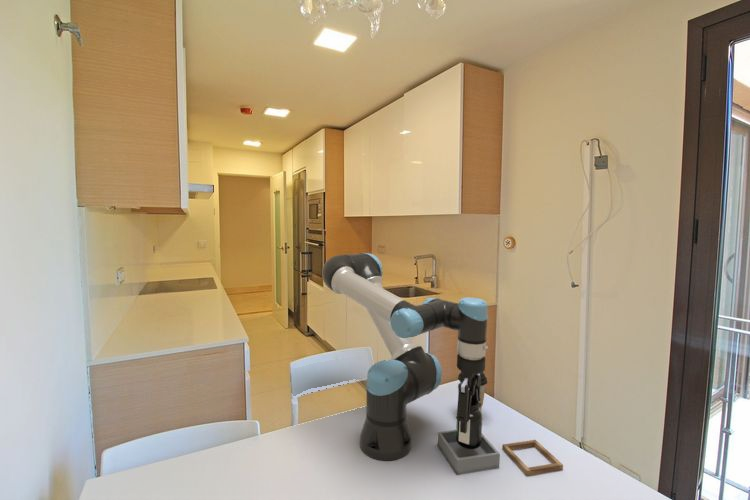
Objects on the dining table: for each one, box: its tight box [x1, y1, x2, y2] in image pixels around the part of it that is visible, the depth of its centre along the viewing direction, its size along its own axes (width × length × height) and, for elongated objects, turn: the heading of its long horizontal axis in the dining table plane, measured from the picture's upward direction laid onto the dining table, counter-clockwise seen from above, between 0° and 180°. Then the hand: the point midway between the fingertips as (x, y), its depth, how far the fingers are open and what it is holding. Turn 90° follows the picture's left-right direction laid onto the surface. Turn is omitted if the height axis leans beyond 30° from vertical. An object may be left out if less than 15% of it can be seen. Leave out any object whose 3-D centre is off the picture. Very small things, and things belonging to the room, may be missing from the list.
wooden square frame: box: [501, 439, 564, 477], centre depth 99 cm, size 11×11×2 cm
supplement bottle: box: [455, 398, 483, 449], centre depth 98 cm, size 7×7×12 cm
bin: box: [437, 429, 501, 476], centre depth 99 cm, size 12×12×4 cm
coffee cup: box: [457, 370, 488, 413], centre depth 119 cm, size 9×9×15 cm
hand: (468, 434), depth 99 cm, fingers closed on supplement bottle, 7 cm apart
